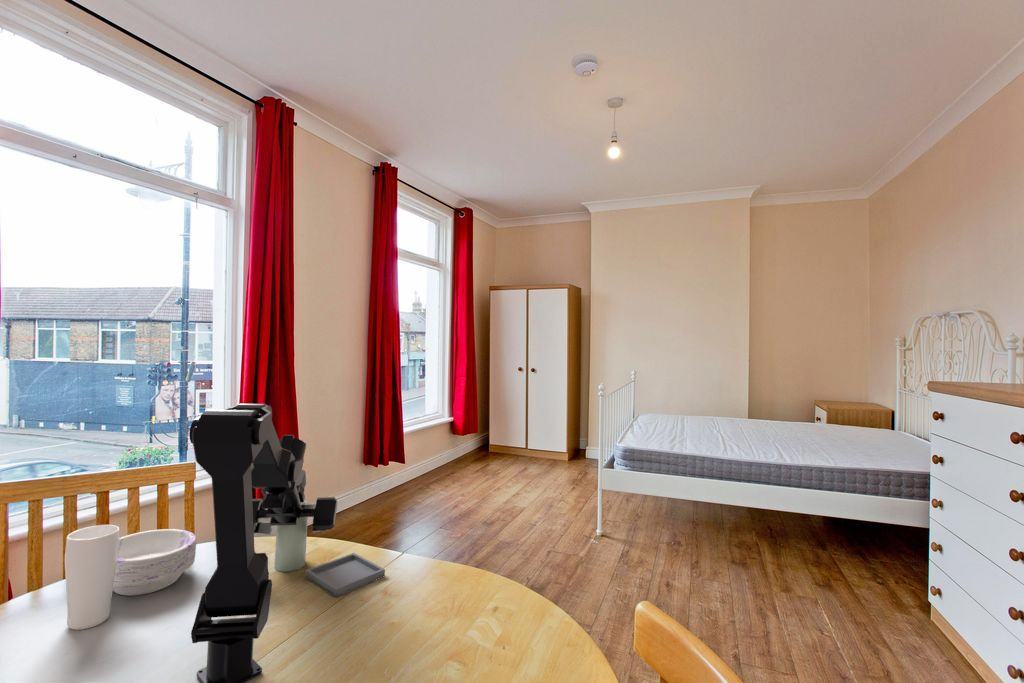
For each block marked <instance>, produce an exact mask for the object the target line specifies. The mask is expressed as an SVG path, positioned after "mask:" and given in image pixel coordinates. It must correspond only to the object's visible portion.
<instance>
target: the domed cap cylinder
mask: <svg viewBox="0 0 1024 683" xmlns="http://www.w3.org/2000/svg"><path fill="white" fill-rule="evenodd" d="M301 505H309V501H307V500H305V499H304V502H301ZM308 518H309V517H299V519H298V521H297V525H277V526H276V529H275V530H276V534H275V550H274V569H275V570H276V571H278V572H286V573H287V572H293V571H296V570H299V569H301V568H303V567H304V566H305V565H306V558H307V556H306V554H307V539H308V538H307V537H308V536H307V535H308Z"/></svg>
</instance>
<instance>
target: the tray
mask: <svg viewBox="0 0 1024 683" xmlns="http://www.w3.org/2000/svg"><path fill="white" fill-rule="evenodd" d="M385 572H386V569H385V568H383V567H382V566H380V565H378V564H376V563H374V562H373V561H370V560H368V559H367V558H365V557H362V556H360V555H359V554H357V553H356V552H352V553H349V554H347V555H346V554H345V555H343V556H341V557H338V558H336V559H332V560H329V561H327V562H324V563H321V564H318V565H316V566H313V567H310V568H308V569H305V575H304V578H305V579H306V580H308V581H310V582H311V583H313V584H314V585H316V586H317V587H319V588H321V589H322V590H324V592H326V593H328V594H329V595H331V596H333V597H334V598H339V597H340V596H343V595H345V594H348V593H350V592H352V591H355V590H357V589H359V588H362V587H364V586H366V585H369V584H370V582H371V583H373V582H375V581H377V580H376V579H378V578H380V579H382V578H384V577H383V576H385V574H386V573H385ZM381 577H382V578H381ZM374 580H375V581H374ZM378 580H379V579H378ZM372 581H373V582H372Z"/></svg>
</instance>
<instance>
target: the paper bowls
mask: <svg viewBox="0 0 1024 683" xmlns="http://www.w3.org/2000/svg"><path fill="white" fill-rule="evenodd" d="M196 550H197V536H196V535H195V533H193V532H191V531H188V530H185V529H177V528H163V529H160V528H159V529H152V530H146V531H140V532H135V533H131V534H128V535H123V536H121V537H120V540H119V553H118V560H117V566H116V572H115V579H114V585H113V591H112V592H114V593H116V594H118V595H121V596H141V595H147V594H151V593H153V592H154V593H155V592H158V591H160V590H162V589H164V588H167V587H168V586H171V585H172V584H174V583H175V582H176V581H177V580H179V578H180V577H181V575H182V574H183V573H184V572H186V571H187V570H188V569H190V568H191V566H193V565H194V563H195V559H196V553H197V552H196ZM150 554H151V555H150Z"/></svg>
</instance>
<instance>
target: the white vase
mask: <svg viewBox="0 0 1024 683" xmlns="http://www.w3.org/2000/svg"><path fill="white" fill-rule="evenodd" d="M120 538H121V537H120V527H119V526H118V525H114V524H98V525H92V526H91V525H90V526H87V527H82V528H80V529H79V528H78V529H77V530H74V531H72V532H70V533H68V535H66V540H65V549H64V574H65V589H66V590H65V591H66V607H67V608H66V609H67V610H66V611H67V618H66V620H67V621H66V625H67V627H68V629H70V630H73V631H74V630H75V631H81V630H82V631H83V630H87V629H91V628H93V627H96V626H99V625H101V624H102V623H104V622H105V621H106V620H107V619H108V618H109V617H110V615H111V609H112V608H111V605H112V597H113V592H114V591H113V585H114V579H115V572H116V566H117V560H118V553H119V540H120Z"/></svg>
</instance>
